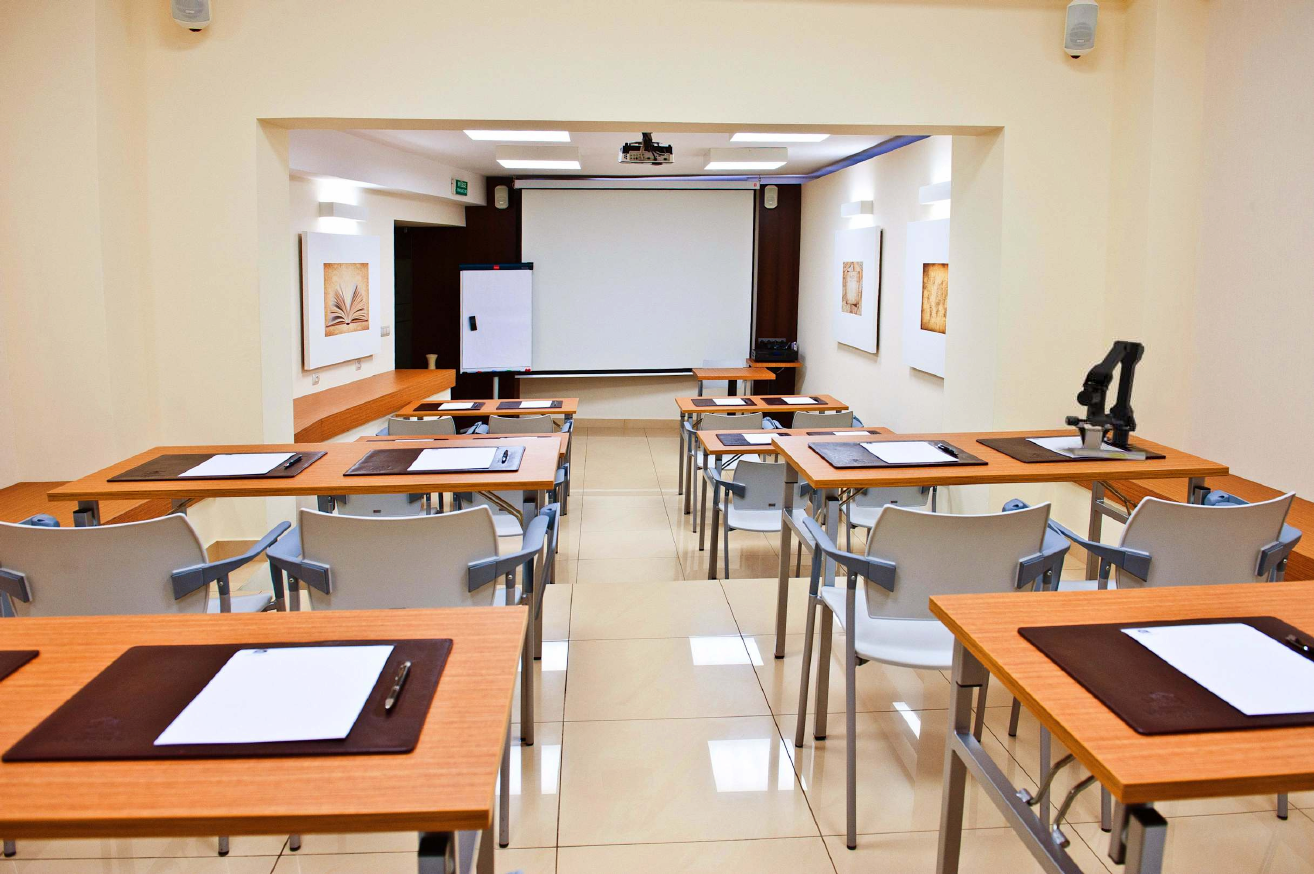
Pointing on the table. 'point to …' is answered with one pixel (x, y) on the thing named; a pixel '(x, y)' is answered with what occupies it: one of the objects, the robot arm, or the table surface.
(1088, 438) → the tea box
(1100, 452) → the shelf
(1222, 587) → the table surface
